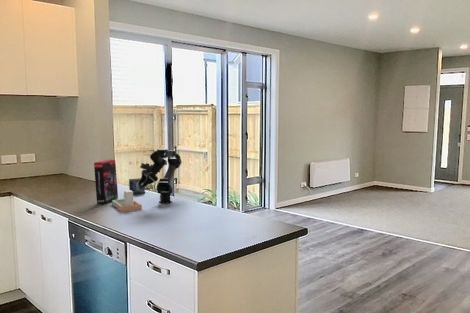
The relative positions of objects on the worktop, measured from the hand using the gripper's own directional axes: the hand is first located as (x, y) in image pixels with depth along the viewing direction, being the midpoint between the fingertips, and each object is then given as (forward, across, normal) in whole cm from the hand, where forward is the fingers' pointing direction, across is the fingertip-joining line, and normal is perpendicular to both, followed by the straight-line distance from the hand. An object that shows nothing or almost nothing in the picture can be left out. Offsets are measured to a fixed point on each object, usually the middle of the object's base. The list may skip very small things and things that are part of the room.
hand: (140, 185), depth 246 cm
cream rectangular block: (+15, 0, +4) cm, 16 cm away
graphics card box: (+21, -28, -1) cm, 35 cm away
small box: (+4, -45, +16) cm, 48 cm away
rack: (+15, -5, +4) cm, 16 cm away
